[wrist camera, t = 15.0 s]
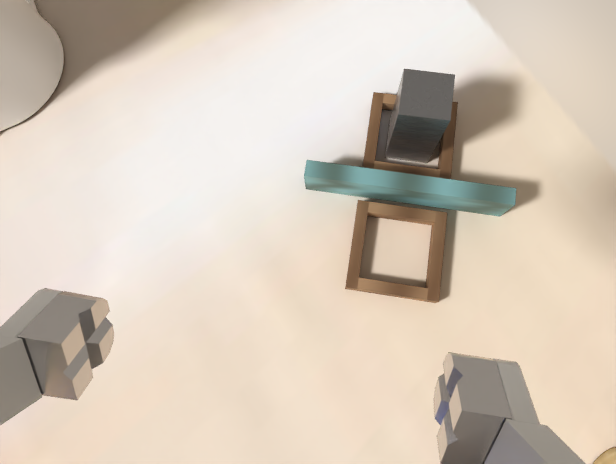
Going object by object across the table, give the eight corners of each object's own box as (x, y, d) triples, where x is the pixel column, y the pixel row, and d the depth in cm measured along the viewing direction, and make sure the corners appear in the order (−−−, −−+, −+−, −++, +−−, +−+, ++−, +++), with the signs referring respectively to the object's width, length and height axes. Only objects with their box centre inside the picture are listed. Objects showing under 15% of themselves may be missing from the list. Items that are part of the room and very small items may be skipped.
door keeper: (290, 280, 41) (286, 274, 38) (322, 92, 45) (322, 72, 42) (493, 312, 40) (509, 308, 36) (506, 115, 44) (521, 96, 41)
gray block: (384, 157, 44) (398, 114, 35) (389, 119, 45) (404, 68, 36) (427, 163, 43) (450, 120, 35) (431, 124, 44) (455, 74, 36)
